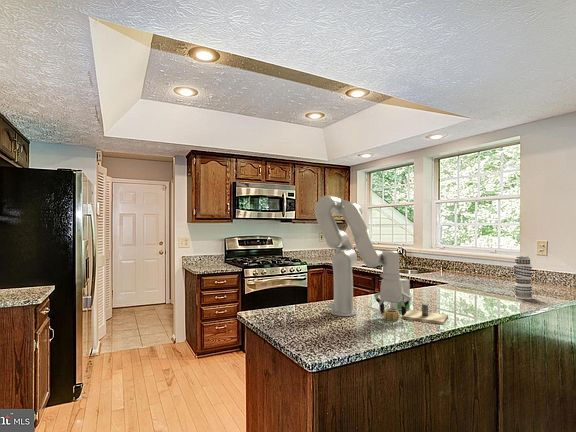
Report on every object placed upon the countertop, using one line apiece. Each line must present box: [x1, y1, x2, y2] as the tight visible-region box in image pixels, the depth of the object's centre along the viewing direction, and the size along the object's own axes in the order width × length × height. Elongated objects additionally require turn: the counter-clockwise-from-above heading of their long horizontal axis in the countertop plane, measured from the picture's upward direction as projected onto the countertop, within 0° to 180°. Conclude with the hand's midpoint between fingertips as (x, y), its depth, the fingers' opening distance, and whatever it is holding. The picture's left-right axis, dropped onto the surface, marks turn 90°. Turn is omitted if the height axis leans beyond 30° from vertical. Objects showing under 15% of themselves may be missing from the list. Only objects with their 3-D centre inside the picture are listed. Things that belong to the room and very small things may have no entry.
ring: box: [383, 309, 400, 322], centre depth 161 cm, size 7×7×4 cm
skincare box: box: [389, 278, 411, 311], centre depth 181 cm, size 8×7×16 cm
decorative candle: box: [513, 255, 533, 300], centre depth 207 cm, size 9×9×25 cm
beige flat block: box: [401, 303, 449, 325], centre depth 163 cm, size 18×14×6 cm
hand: (392, 313), depth 161 cm, fingers open, 9 cm apart
